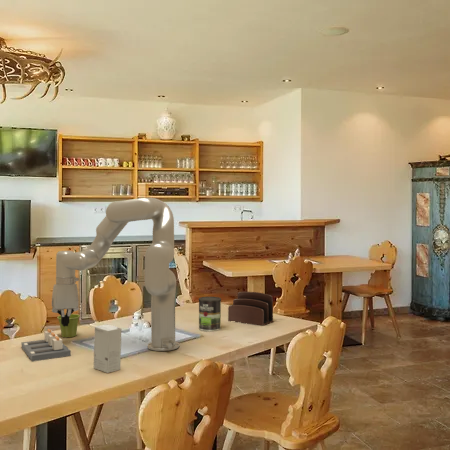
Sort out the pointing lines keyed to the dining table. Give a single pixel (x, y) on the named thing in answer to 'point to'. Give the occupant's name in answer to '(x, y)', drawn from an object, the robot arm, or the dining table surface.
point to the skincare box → (107, 348)
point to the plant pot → (69, 326)
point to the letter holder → (252, 308)
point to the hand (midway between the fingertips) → (65, 325)
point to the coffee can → (209, 313)
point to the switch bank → (43, 350)
